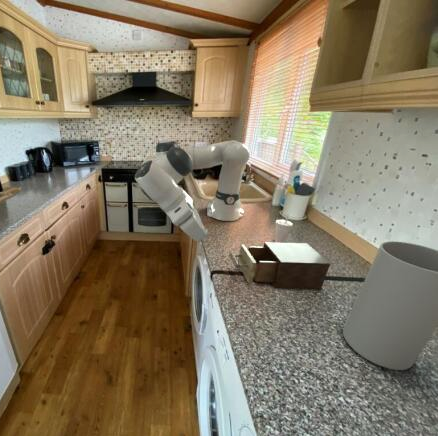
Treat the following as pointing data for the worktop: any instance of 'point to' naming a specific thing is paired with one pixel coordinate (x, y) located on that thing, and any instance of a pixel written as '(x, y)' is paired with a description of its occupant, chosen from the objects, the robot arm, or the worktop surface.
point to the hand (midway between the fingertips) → (207, 235)
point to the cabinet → (298, 265)
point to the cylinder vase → (395, 306)
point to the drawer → (256, 263)
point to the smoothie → (282, 230)
